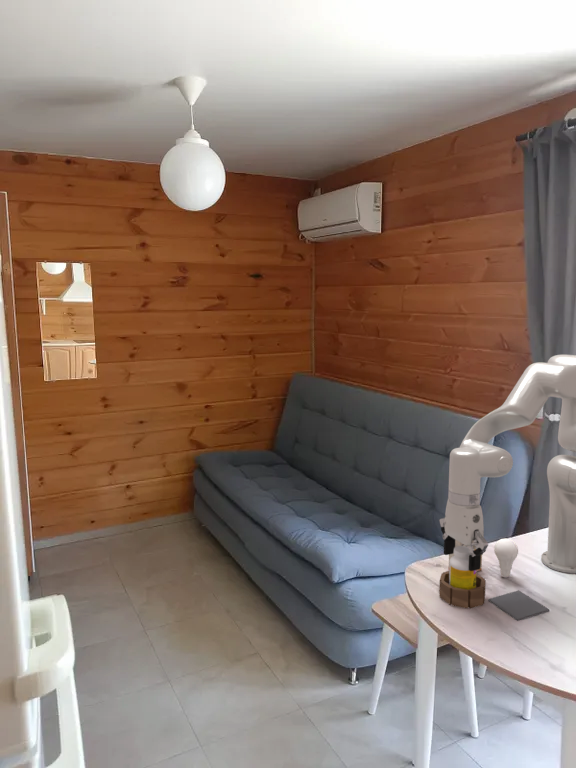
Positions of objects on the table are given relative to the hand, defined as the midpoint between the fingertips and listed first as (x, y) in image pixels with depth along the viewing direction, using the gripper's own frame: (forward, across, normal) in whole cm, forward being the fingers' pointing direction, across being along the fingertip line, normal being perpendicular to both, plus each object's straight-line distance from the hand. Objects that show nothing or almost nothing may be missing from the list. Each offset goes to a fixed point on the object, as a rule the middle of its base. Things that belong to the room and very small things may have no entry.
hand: (461, 561), depth 147 cm
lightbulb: (+10, +3, -18) cm, 20 cm away
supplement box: (+10, +11, -11) cm, 18 cm away
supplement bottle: (+10, 0, -1) cm, 10 cm away
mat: (+10, -10, -10) cm, 17 cm away
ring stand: (+10, 0, -1) cm, 10 cm away
